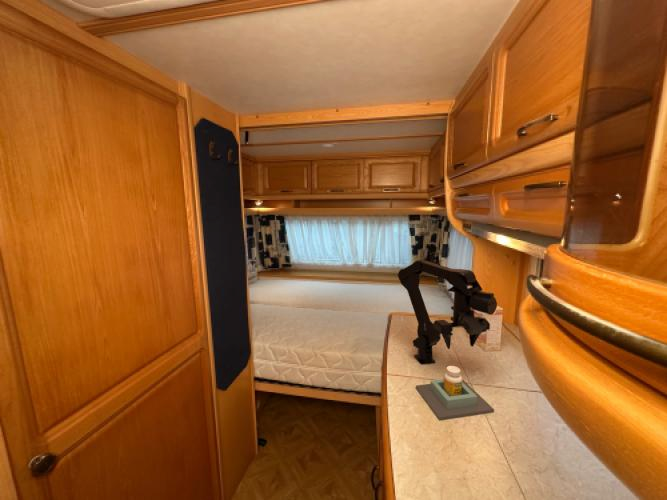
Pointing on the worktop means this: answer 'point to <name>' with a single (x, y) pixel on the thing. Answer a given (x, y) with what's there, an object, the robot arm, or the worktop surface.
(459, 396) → the socket
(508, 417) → the worktop surface
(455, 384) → the supplement bottle
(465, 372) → the worktop surface
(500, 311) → the coffeecake box
